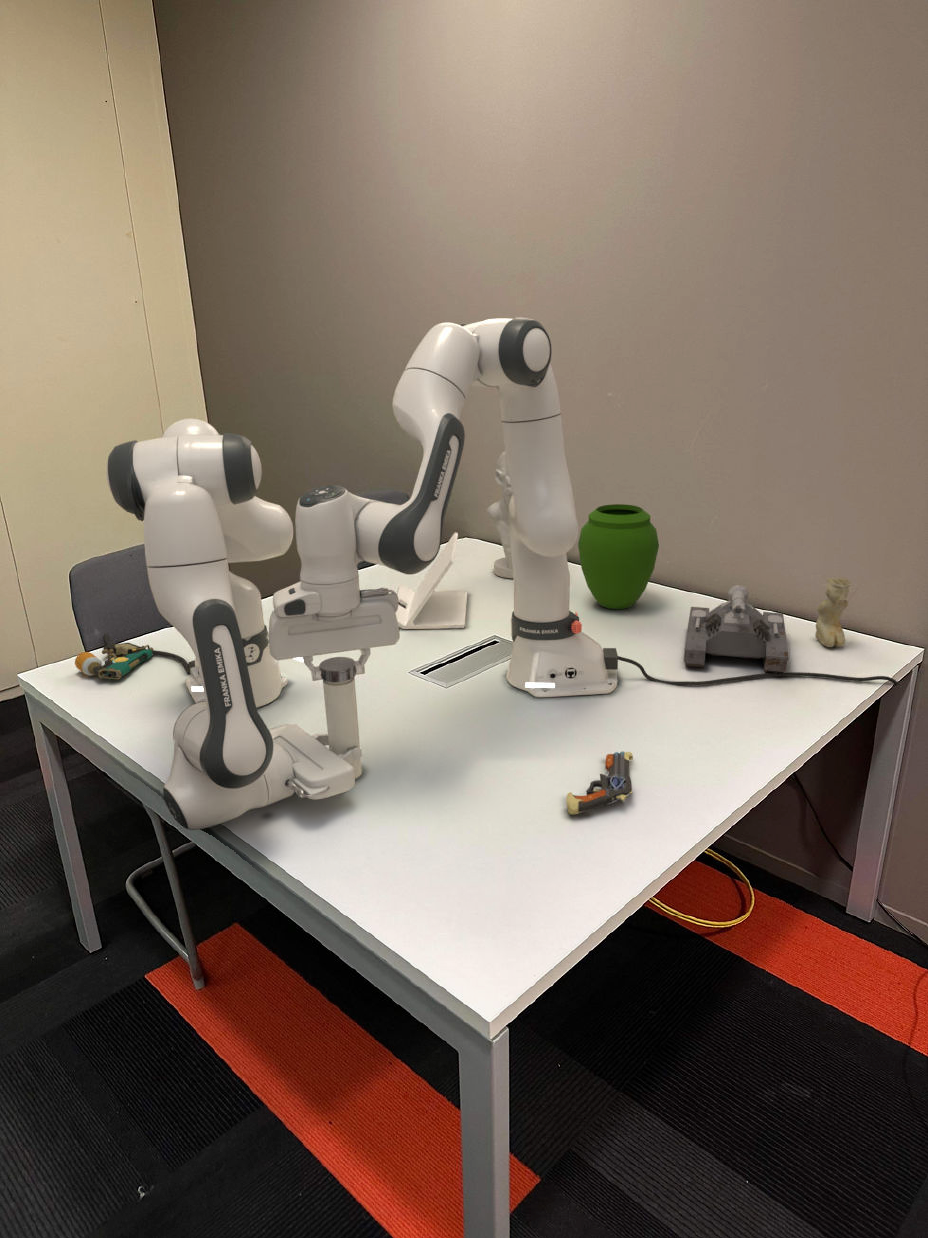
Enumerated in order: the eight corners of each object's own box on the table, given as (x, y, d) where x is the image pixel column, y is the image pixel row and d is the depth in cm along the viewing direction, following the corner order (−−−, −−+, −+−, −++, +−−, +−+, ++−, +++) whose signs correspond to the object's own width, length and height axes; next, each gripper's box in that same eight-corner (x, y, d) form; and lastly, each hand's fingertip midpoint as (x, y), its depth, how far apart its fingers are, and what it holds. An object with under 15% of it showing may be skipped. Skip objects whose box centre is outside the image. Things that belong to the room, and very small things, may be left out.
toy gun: (564, 803, 127) (632, 801, 125) (572, 748, 145) (632, 746, 143) (566, 820, 128) (634, 818, 125) (574, 763, 145) (633, 761, 143)
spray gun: (121, 650, 196) (171, 662, 191) (61, 674, 182) (113, 688, 176) (119, 633, 195) (170, 644, 189) (59, 656, 181) (111, 668, 175)
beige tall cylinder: (339, 763, 145) (330, 661, 138) (366, 767, 143) (358, 664, 137) (326, 779, 140) (316, 674, 134) (354, 783, 139) (345, 677, 132)
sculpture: (821, 649, 184) (830, 583, 179) (808, 637, 191) (816, 573, 185) (848, 649, 184) (858, 582, 179) (834, 636, 191) (843, 572, 185)
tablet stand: (467, 593, 225) (465, 531, 219) (465, 628, 202) (462, 559, 196) (399, 594, 226) (395, 532, 220) (388, 629, 203) (384, 560, 197)
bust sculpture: (503, 593, 225) (502, 460, 212) (483, 567, 247) (480, 445, 234) (562, 587, 228) (563, 456, 215) (536, 562, 250) (536, 441, 237)
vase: (599, 587, 227) (601, 497, 218) (668, 600, 216) (673, 505, 208) (562, 608, 212) (564, 513, 204) (634, 623, 202) (639, 523, 193)
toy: (689, 626, 199) (693, 565, 193) (780, 633, 193) (787, 570, 188) (682, 670, 176) (687, 601, 171) (785, 679, 170) (794, 609, 165)
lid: (354, 665, 139) (353, 655, 138) (358, 680, 134) (357, 668, 133) (318, 670, 138) (317, 659, 137) (321, 684, 132) (320, 673, 132)
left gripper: (302, 781, 124) (382, 750, 132) (242, 731, 139) (317, 706, 147) (306, 818, 126) (385, 785, 134) (246, 765, 141) (320, 738, 149)
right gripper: (393, 580, 136) (398, 659, 141) (262, 595, 131) (272, 677, 136) (401, 592, 131) (406, 674, 135) (265, 608, 125) (275, 693, 130)
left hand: (348, 743), depth 141 cm, fingers closed on beige tall cylinder, 5 cm apart
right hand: (338, 676), depth 136 cm, fingers closed on lid, 5 cm apart
